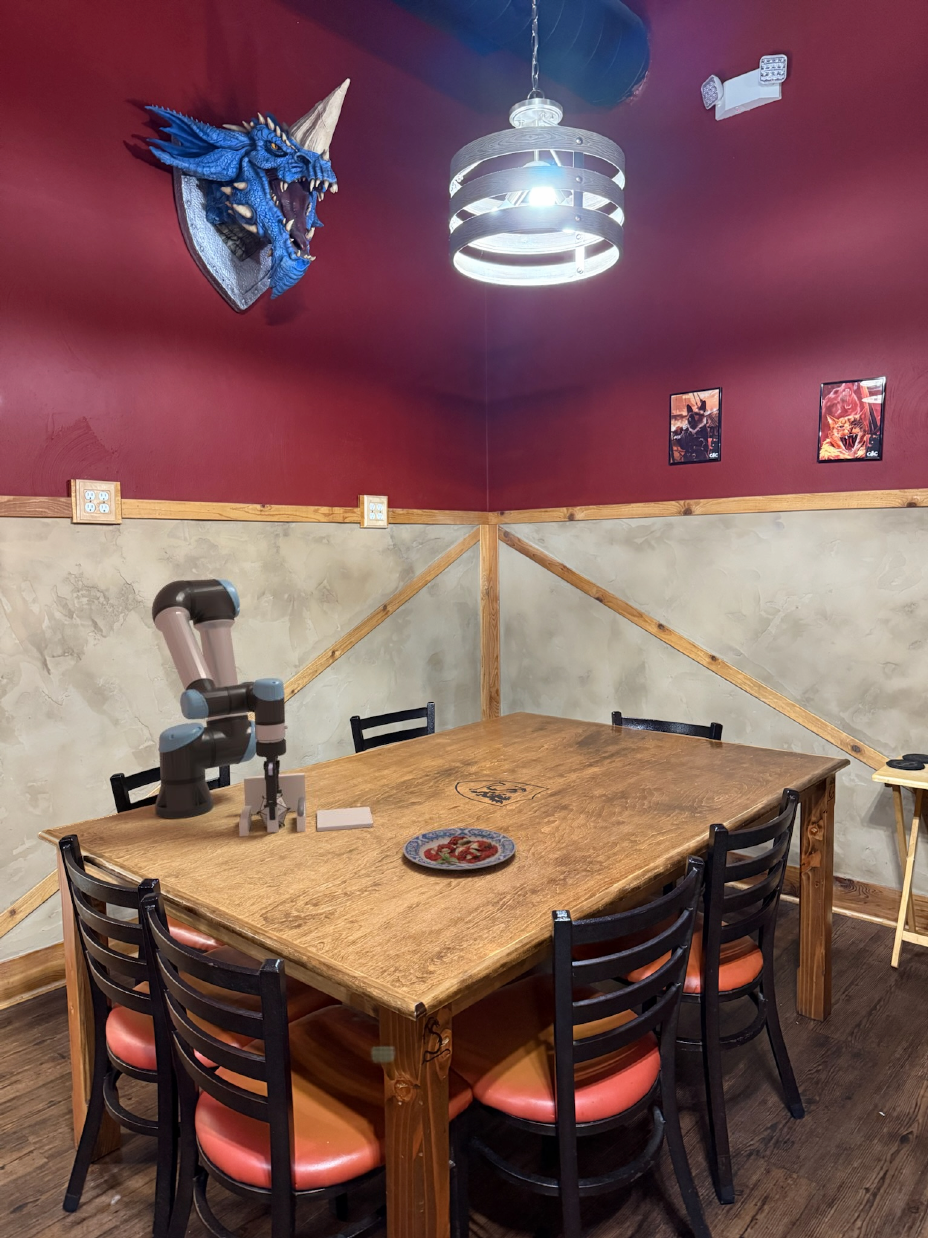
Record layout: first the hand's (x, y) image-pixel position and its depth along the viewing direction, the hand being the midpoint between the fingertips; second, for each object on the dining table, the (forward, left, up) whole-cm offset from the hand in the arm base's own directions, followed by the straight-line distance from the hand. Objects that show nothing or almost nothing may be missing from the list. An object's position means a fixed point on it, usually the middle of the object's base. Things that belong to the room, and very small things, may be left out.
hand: (274, 825), depth 203 cm
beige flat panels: (0, +4, 0) cm, 4 cm away
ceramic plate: (+43, -31, -1) cm, 53 cm away
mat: (+18, 0, 0) cm, 18 cm away
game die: (0, 0, 0) cm, 0 cm away
